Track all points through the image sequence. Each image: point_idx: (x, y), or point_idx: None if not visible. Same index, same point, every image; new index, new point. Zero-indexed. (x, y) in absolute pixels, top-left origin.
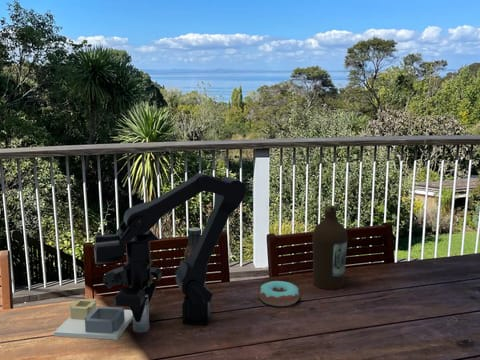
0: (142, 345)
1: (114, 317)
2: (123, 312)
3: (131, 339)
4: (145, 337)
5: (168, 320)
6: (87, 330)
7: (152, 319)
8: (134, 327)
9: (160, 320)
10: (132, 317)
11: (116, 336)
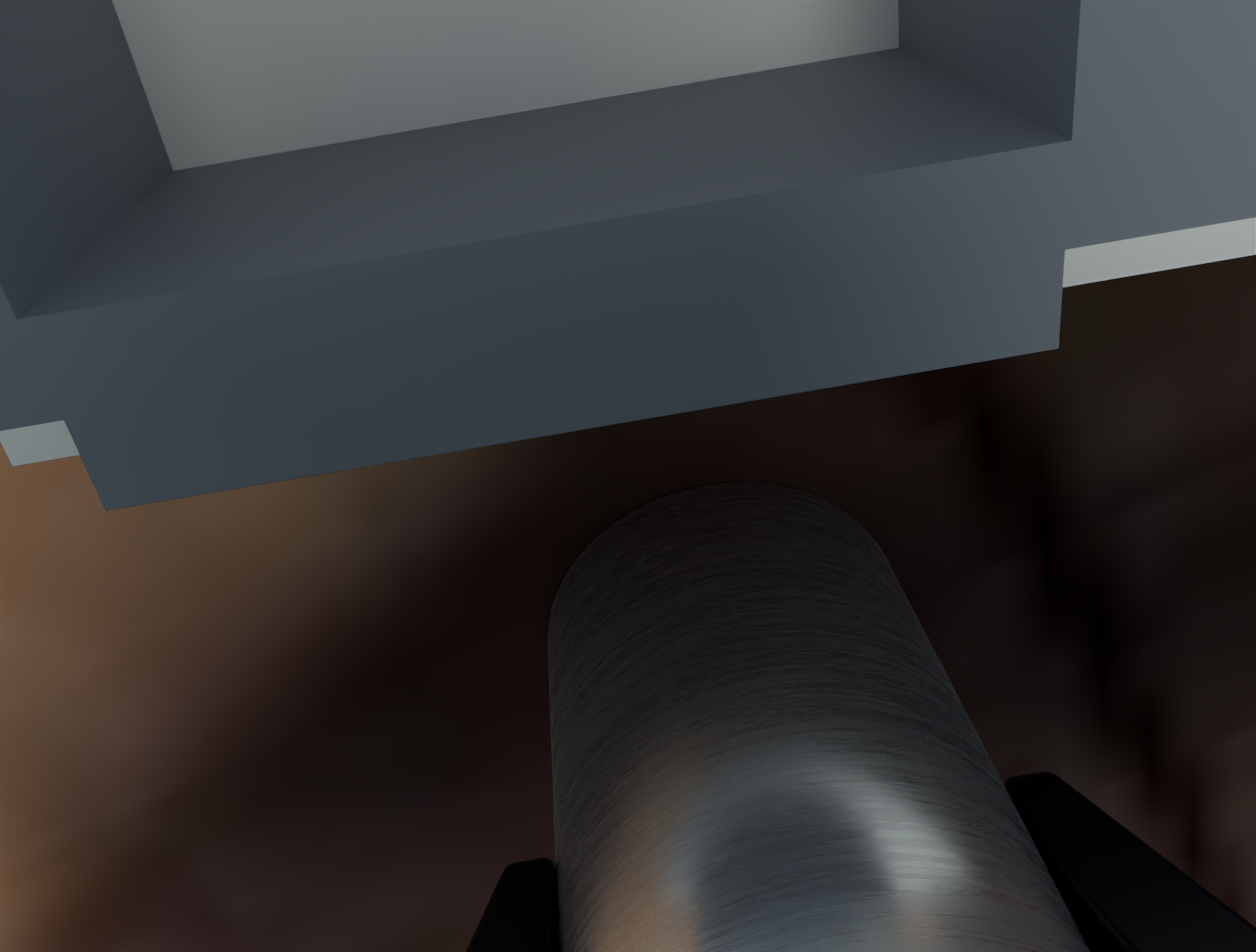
0: (144, 910)
1: (270, 340)
2: (948, 327)
3: (240, 666)
4: (425, 835)
5: None
6: None
7: (1177, 638)
8: (570, 641)
9: (1134, 776)
10: (1219, 233)
11: (12, 442)
